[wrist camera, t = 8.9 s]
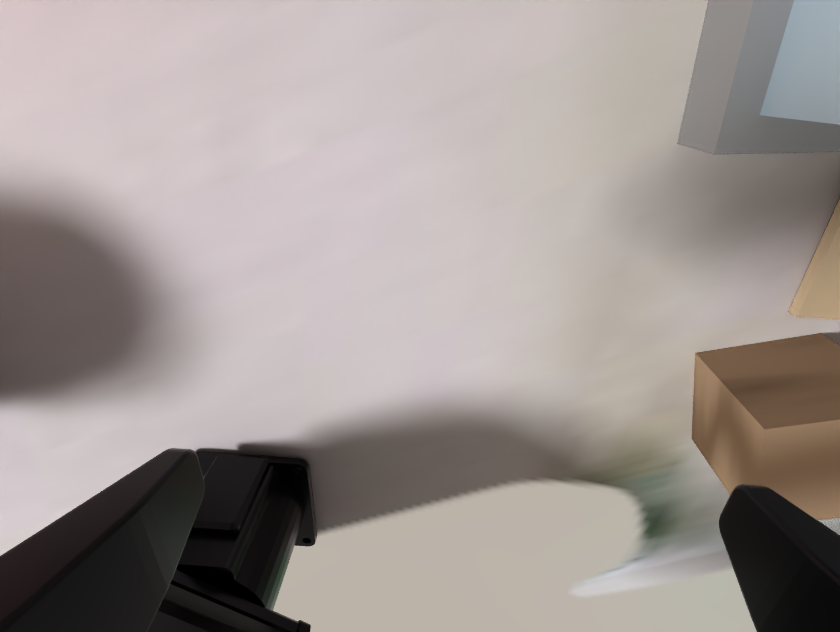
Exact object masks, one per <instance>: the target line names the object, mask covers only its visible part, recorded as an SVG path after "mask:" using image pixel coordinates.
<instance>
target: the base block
mask: <svg viewBox="0 0 840 632" xmlns="http://www.w3.org/2000/svg"><path fill="white" fill-rule="evenodd" d="M793 2H794V0H708V5H707V9H706V14H705V18H704V23H703V28H702V32H701V37H700V41H699V46H698V51H697V55H696V60H695V64H694V69H693V74H692V78H691V83H690V87H689V92H688V97H687V101H686V106H685V110H684V115H683V120H682V124H681V129H680V133H679V138H678V143H677V144H680V145H684V146H687V147H690V148H694V149H697V150H701V151H704V152H708V153H711V154H754V153H800V152H840V125H839V124H830V123H822V122H813V121H805V120H796V119H788V118H779V117H771V116H762V115H760V112H761V109H762V106H763V102H764V99H765V96H766V92H767V89H768V86H769V82H770V79H771V76H772V72H773V69H774V66H775V62H776V59H777V56H778V52H779V49H780V46H781V42H782V39H783V36H784V32H785V29H786V26H787V22H788V19H789V16H790V12H791V9H792V6H793Z"/></svg>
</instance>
